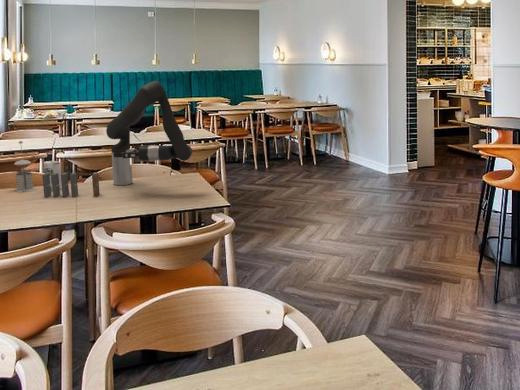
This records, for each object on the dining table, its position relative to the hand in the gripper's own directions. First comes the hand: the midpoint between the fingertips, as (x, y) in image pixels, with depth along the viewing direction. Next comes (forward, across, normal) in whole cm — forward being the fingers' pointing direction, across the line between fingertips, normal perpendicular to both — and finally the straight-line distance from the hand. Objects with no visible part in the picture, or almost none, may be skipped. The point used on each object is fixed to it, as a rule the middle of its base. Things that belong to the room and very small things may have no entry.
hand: (115, 153), depth 268 cm
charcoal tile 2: (+21, 0, +20) cm, 29 cm away
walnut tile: (+11, 0, +20) cm, 23 cm away
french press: (+51, -15, +20) cm, 57 cm away
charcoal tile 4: (+30, +1, +20) cm, 36 cm away
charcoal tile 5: (+34, +1, +20) cm, 39 cm away
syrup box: (+36, -15, +20) cm, 44 cm away
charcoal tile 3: (+25, 0, +20) cm, 32 cm away
